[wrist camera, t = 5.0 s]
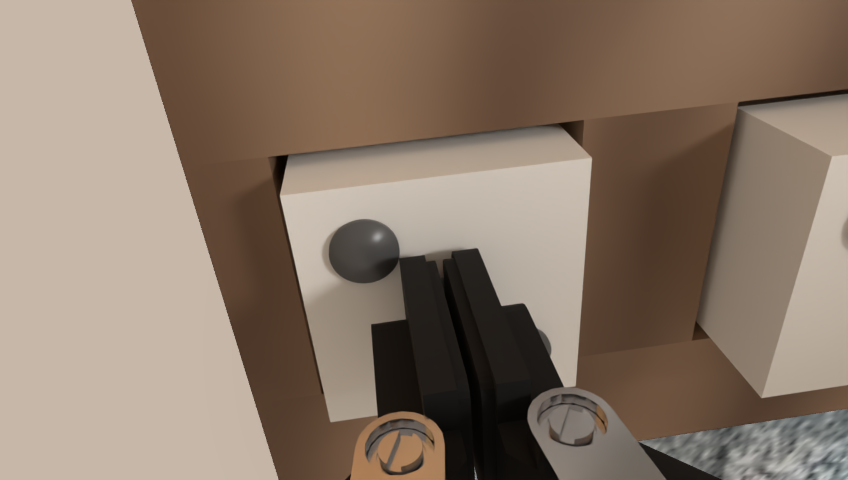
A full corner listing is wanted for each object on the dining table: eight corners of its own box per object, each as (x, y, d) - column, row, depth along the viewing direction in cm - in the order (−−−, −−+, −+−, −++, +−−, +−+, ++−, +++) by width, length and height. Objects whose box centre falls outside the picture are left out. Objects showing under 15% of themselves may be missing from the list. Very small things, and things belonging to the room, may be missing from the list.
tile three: (545, 110, 14) (594, 160, 11) (539, 312, 17) (577, 390, 14) (291, 140, 14) (278, 199, 11) (332, 341, 17) (330, 426, 14)
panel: (1404, -163, 14) (1635, -178, 12) (1113, 297, 22) (1218, 351, 19) (166, -48, 13) (120, -36, 10) (291, 417, 20) (283, 495, 17)
